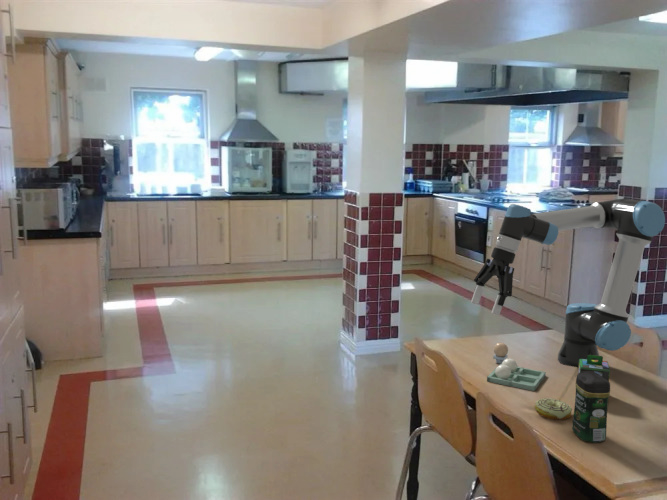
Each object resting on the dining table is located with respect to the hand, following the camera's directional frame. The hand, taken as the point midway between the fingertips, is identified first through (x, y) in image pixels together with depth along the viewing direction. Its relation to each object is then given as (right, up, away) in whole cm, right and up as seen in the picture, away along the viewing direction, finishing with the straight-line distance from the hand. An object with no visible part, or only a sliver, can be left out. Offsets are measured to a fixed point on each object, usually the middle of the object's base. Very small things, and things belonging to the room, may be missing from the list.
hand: (484, 308), depth 210 cm
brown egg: (+12, -21, +25) cm, 34 cm away
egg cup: (+12, -24, +25) cm, 37 cm away
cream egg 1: (+12, -25, +13) cm, 31 cm away
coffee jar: (+22, -34, -32) cm, 52 cm away
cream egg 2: (+8, -26, +7) cm, 28 cm away
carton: (+13, -26, +9) cm, 31 cm away
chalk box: (+35, -29, -4) cm, 46 cm away
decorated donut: (+17, -31, -18) cm, 40 cm away
